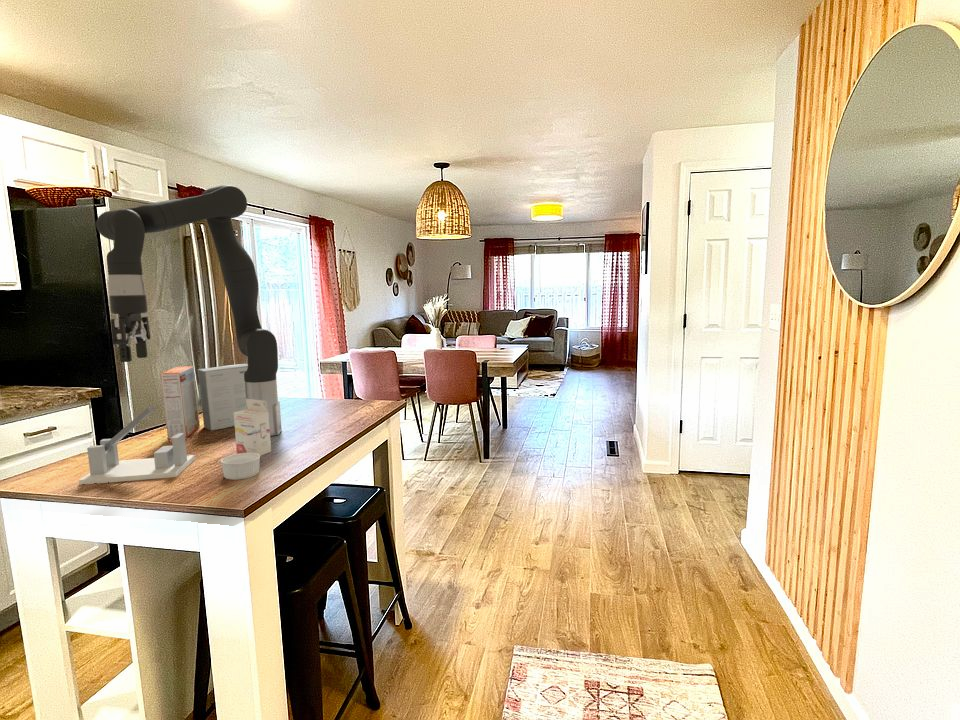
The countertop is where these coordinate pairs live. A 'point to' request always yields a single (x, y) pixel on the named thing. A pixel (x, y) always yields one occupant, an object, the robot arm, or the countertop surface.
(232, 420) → the hard drive box
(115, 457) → the base
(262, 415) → the ink cartridge box
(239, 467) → the ramekin
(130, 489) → the countertop surface
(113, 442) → the clamp lever
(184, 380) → the cracker box
